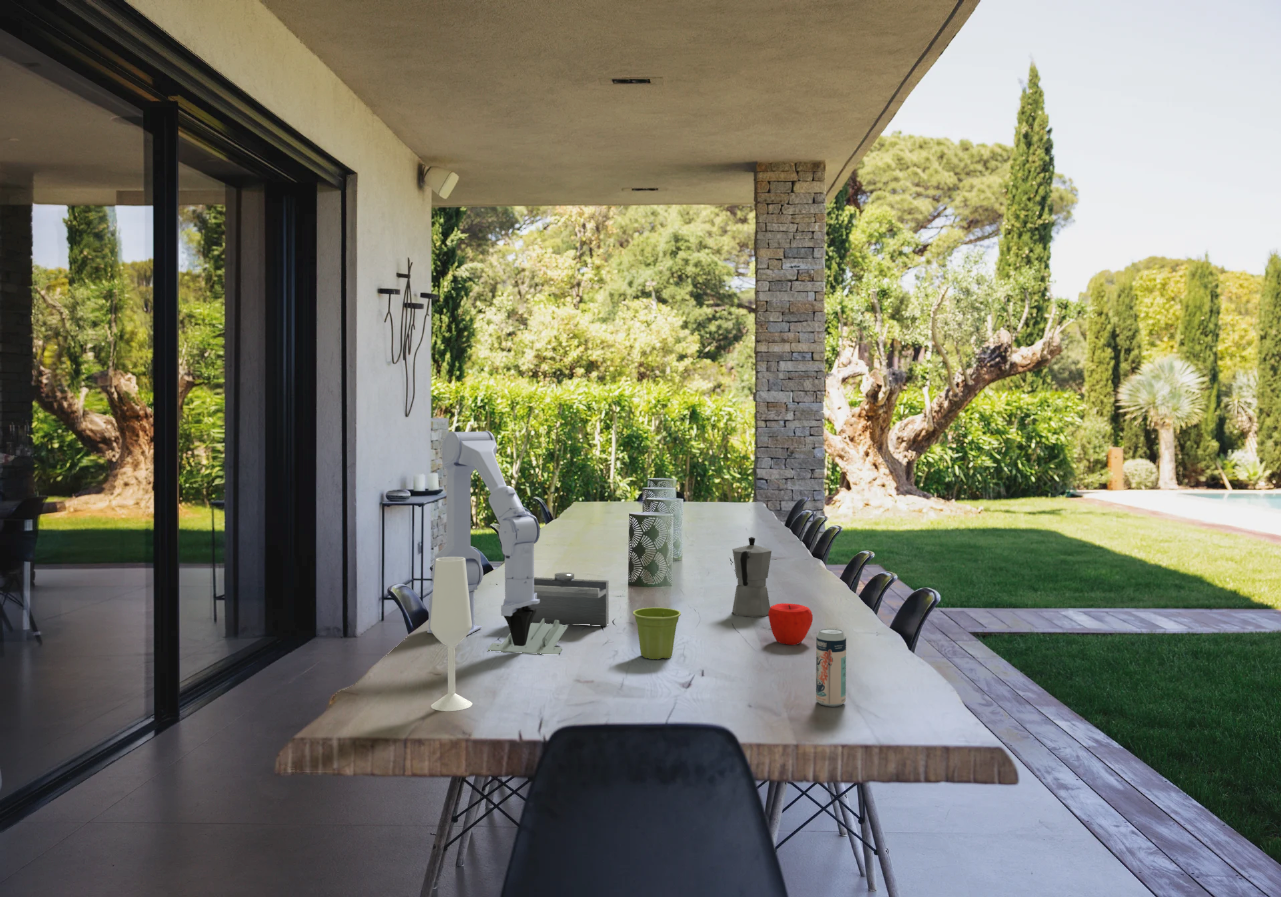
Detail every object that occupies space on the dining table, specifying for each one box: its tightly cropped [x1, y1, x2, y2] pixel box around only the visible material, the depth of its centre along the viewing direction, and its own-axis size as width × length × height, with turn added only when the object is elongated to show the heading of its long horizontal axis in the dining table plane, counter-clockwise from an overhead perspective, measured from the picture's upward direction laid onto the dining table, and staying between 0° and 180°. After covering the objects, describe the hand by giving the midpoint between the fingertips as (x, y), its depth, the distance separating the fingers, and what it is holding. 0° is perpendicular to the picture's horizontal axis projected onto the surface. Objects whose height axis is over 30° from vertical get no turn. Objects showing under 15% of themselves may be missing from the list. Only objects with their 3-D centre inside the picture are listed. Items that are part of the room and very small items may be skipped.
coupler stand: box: [528, 572, 610, 627], centre depth 226 cm, size 20×9×11 cm, turn 76°
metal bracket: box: [487, 618, 569, 655], centre depth 207 cm, size 14×6×15 cm
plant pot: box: [632, 607, 682, 660], centre depth 199 cm, size 9×9×9 cm
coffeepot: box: [732, 536, 772, 618], centre depth 239 cm, size 15×9×18 cm, turn 160°
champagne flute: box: [430, 557, 473, 712], centre depth 166 cm, size 7×7×24 cm
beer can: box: [815, 628, 847, 708], centre depth 167 cm, size 5×5×12 cm
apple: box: [767, 602, 814, 646], centre depth 210 cm, size 9×9×8 cm
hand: (519, 645), depth 202 cm, fingers closed
